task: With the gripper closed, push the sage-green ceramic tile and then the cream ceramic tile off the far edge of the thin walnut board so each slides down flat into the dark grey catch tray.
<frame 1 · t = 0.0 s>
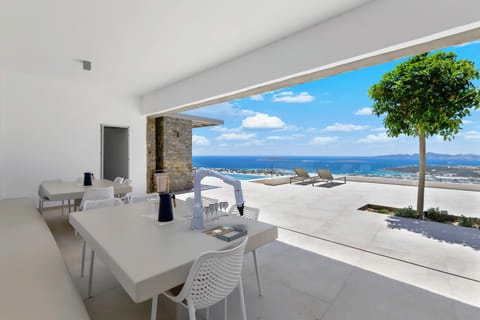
hand: (241, 214, 166), 11 cm above the table, tool pointing down, fingers open, 7 cm apart
goblet set: (216, 219, 191), on the table
walnut board: (218, 232, 157), on the table
cream tile: (217, 234, 152), point 1 cm above the table, touching walnut board
catch tray: (232, 237, 148), on the table
heart sculpture: (194, 218, 192), on the table
sage tile: (226, 230, 158), point 1 cm above the table, touching walnut board
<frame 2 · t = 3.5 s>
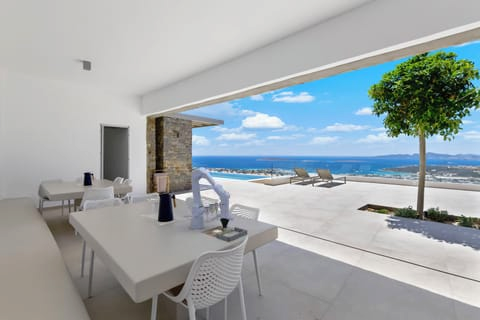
hand: (224, 228, 160), 2 cm above the table, tool pointing down, fingers closed
sage tile: (228, 230, 158), point 1 cm above the table, touching walnut board
everything else where it was.
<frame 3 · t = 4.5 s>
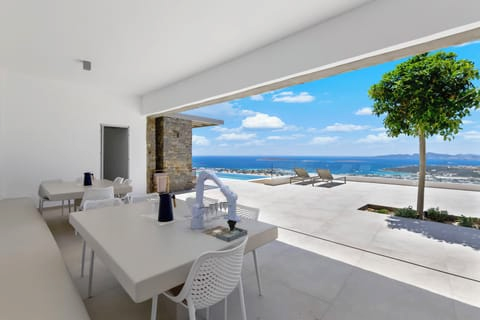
hand: (232, 231, 155), 2 cm above the table, tool pointing down, fingers closed
sage tile: (235, 234, 153), resting on catch tray, touching gripper
everything else where it was.
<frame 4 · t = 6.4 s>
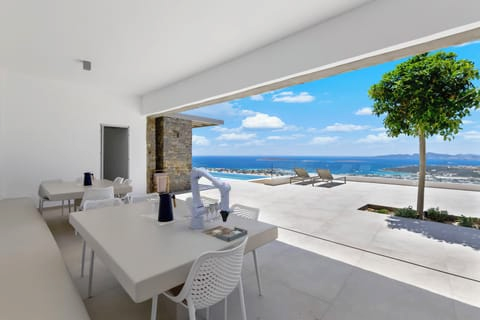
hand: (224, 221, 155), 8 cm above the table, tool pointing down, fingers closed
sage tile: (236, 235, 152), resting on catch tray
everything else where it was.
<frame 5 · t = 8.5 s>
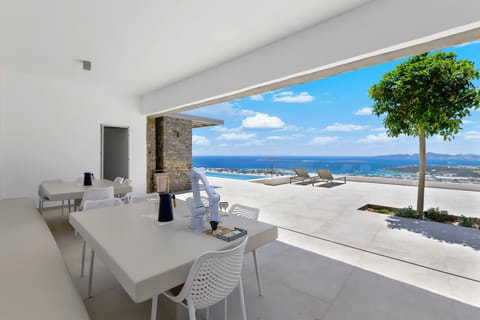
hand: (214, 231, 154), 2 cm above the table, tool pointing down, fingers closed
cream tile: (217, 234, 152), point 1 cm above the table, touching gripper
everything else where it was.
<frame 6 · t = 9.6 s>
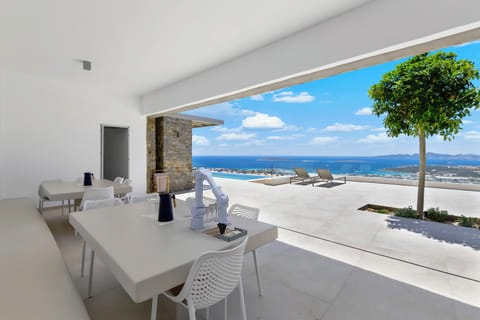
hand: (222, 234, 149), 2 cm above the table, tool pointing down, fingers closed
cream tile: (225, 237, 147), resting on catch tray, touching gripper
everything else where it was.
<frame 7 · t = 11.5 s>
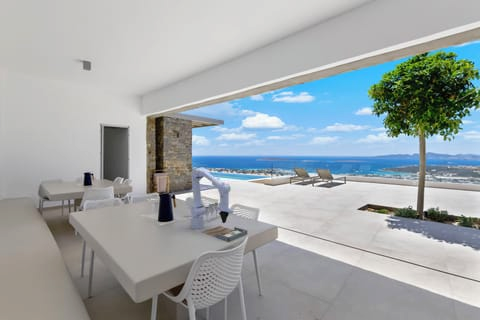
hand: (224, 222, 152), 9 cm above the table, tool pointing down, fingers closed
cream tile: (227, 238, 145), resting on catch tray
everything else where it was.
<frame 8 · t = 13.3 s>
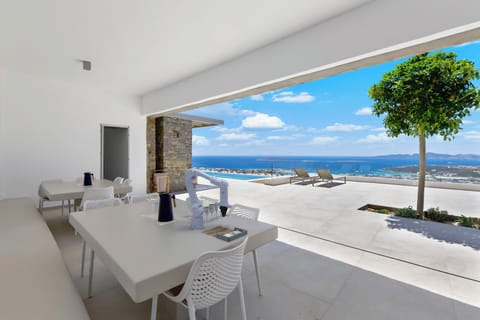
hand: (223, 216, 163), 9 cm above the table, tool pointing down, fingers closed
nothing on the table moved.
at the end: sage tile inside the target area (4.5 cm from its centre), resting on catch tray; cream tile inside the target area (4.0 cm from its centre), resting on catch tray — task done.
